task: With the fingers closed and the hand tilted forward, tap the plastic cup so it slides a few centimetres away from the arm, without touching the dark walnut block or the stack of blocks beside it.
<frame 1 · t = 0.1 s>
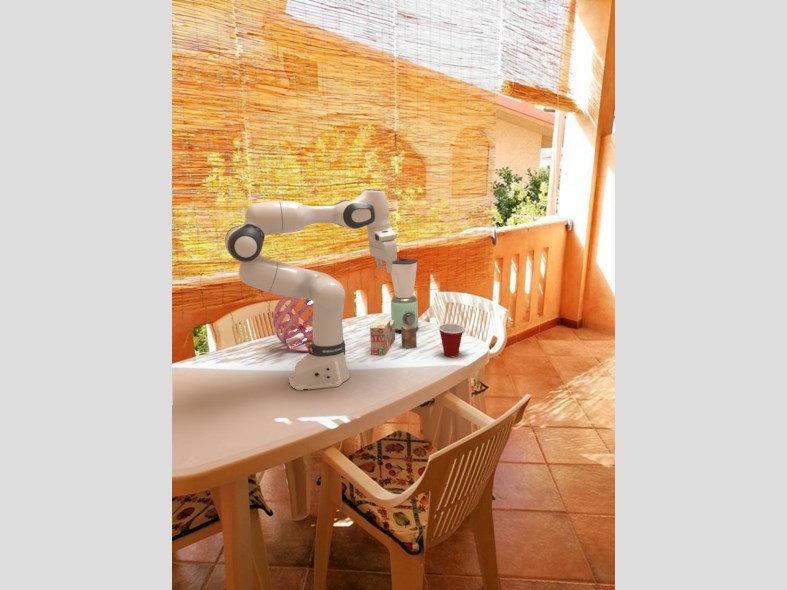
hand: (384, 270, 183), 39 cm above the table, tool pointing down, fingers open, 8 cm apart
stack of blocks: (383, 347, 216), on the table
plastic cup: (451, 355, 203), on the table
green blender: (404, 329, 240), on the table
spiral basket: (304, 347, 220), on the table
walnut block: (409, 346, 215), on the table
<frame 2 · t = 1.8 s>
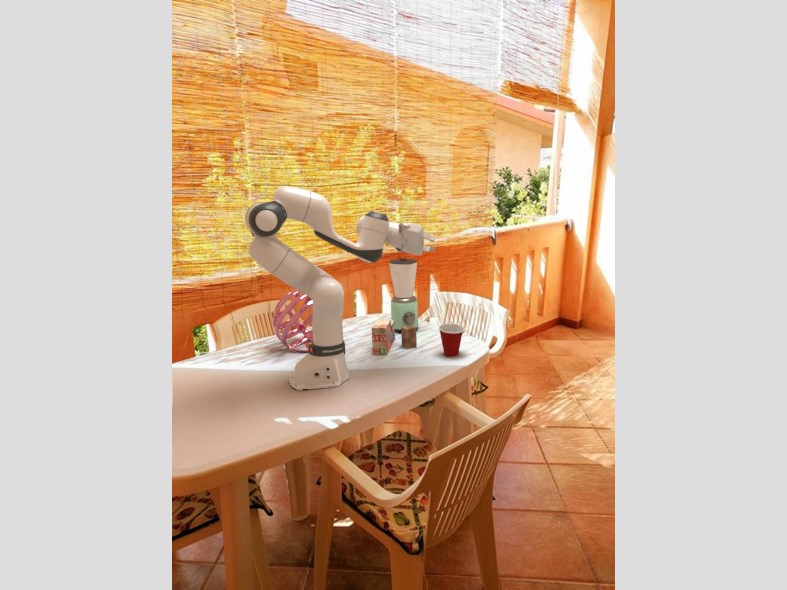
hand: (434, 244, 183), 47 cm above the table, tool horizontal, fingers open, 8 cm apart
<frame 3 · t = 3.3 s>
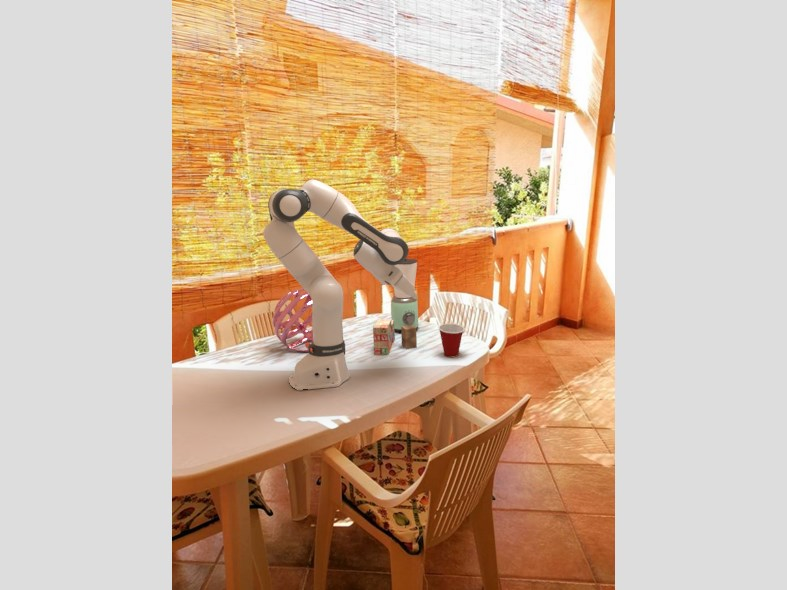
hand: (411, 295, 191), 27 cm above the table, tool tilted 45°, fingers open, 7 cm apart
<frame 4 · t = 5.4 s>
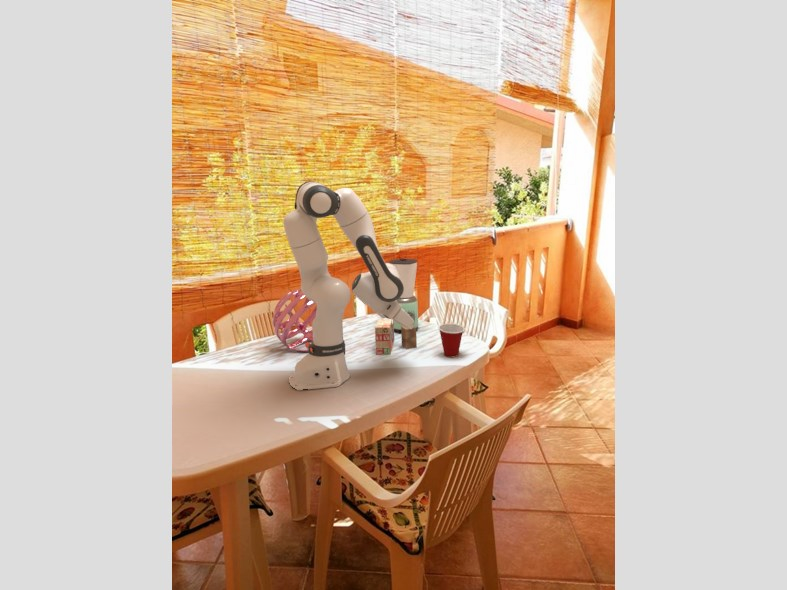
hand: (411, 327, 193), 15 cm above the table, tool tilted 45°, fingers closed
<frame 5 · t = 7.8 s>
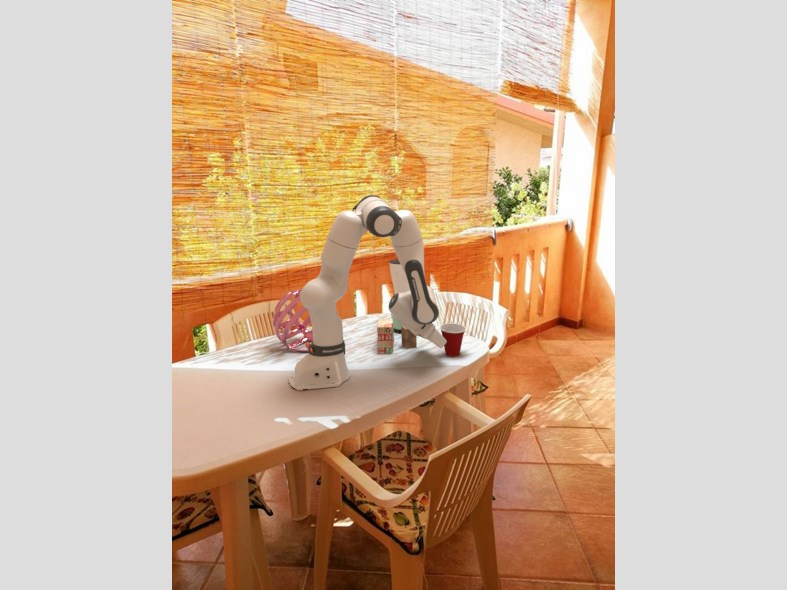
hand: (442, 344, 201), 5 cm above the table, tool tilted 45°, fingers closed, pressing on plastic cup
plastic cup: (453, 354, 204), on the table, touching gripper
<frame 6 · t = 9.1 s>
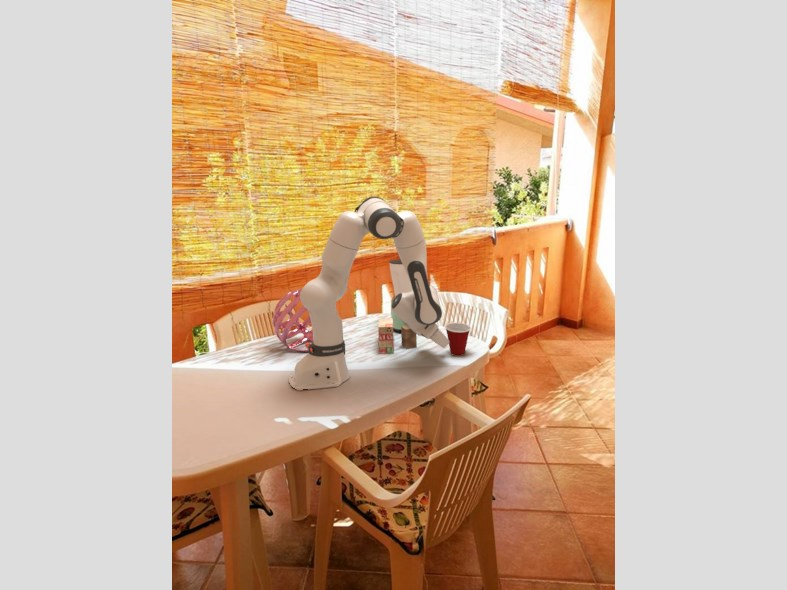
hand: (444, 344, 201), 5 cm above the table, tool tilted 45°, fingers closed
plastic cup: (458, 354, 204), on the table
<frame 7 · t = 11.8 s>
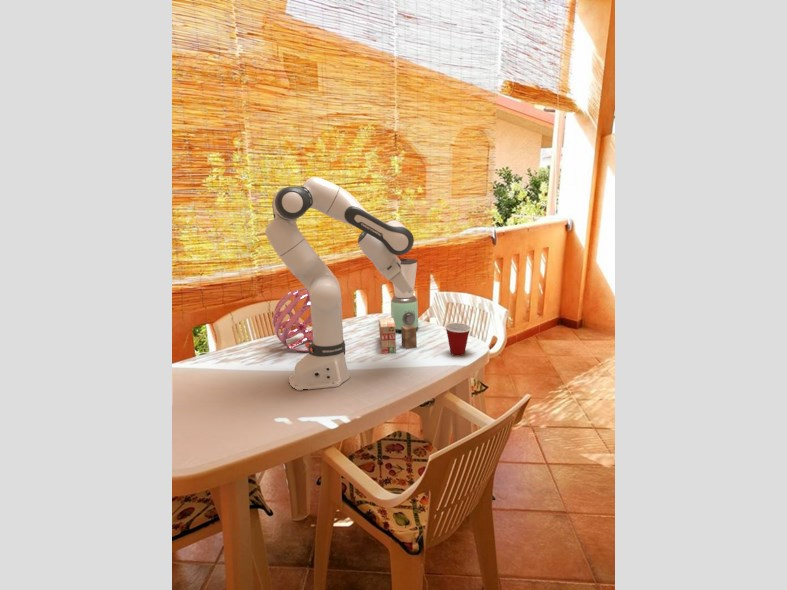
hand: (410, 290, 190), 29 cm above the table, tool tilted 40°, fingers closed
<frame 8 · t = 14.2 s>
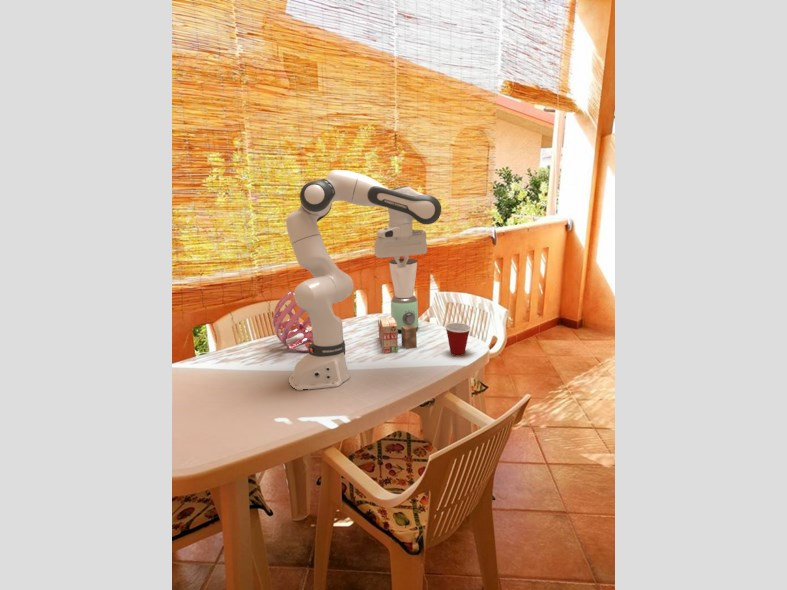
hand: (401, 267, 185), 39 cm above the table, tool pointing down, fingers closed
at the end: plastic cup moved 3.0 cm from its start; plastic cup tilted 0°; walnut block moved 0.1 cm from its start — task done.
